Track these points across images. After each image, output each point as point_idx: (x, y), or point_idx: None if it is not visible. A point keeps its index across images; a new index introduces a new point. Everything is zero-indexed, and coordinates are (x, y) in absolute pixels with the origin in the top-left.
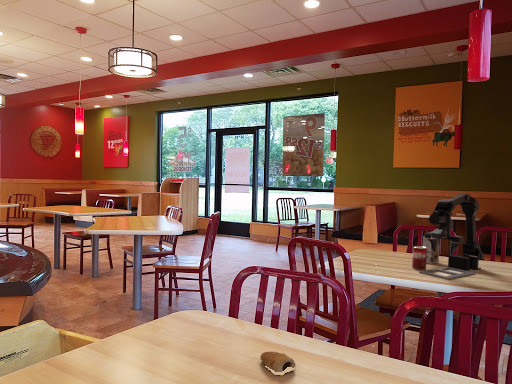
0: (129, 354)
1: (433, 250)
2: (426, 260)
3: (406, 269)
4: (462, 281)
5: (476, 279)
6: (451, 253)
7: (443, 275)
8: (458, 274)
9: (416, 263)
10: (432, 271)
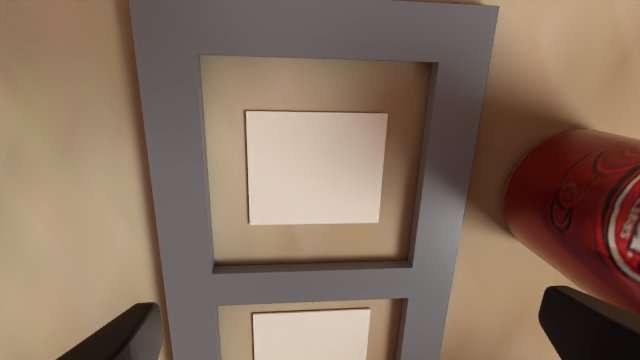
0: None
1: (597, 299)
2: (565, 260)
3: (635, 31)
4: (27, 76)
5: (48, 290)
6: (113, 327)
7: (279, 136)
8: (201, 267)
9: (619, 141)
10: (420, 180)
